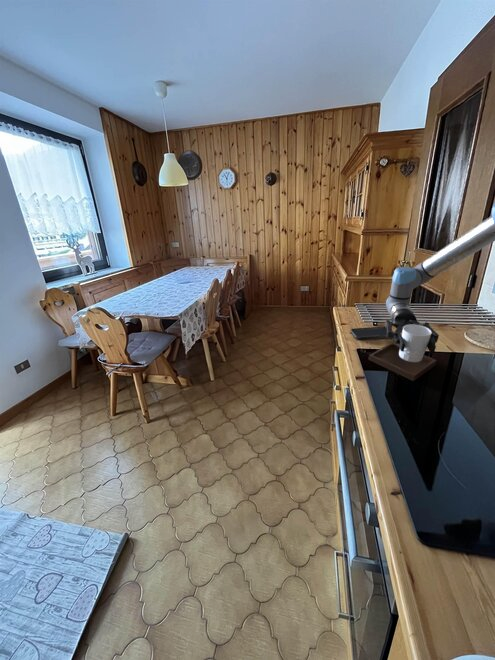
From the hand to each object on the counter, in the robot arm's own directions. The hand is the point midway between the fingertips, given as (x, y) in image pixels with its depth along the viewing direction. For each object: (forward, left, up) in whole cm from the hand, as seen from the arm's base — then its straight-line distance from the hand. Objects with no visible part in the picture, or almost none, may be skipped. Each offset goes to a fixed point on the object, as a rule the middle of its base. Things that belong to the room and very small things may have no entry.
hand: (418, 348), depth 86 cm
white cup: (+3, -4, -6) cm, 8 cm away
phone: (+24, -14, -10) cm, 29 cm away
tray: (+6, -4, -9) cm, 12 cm away
